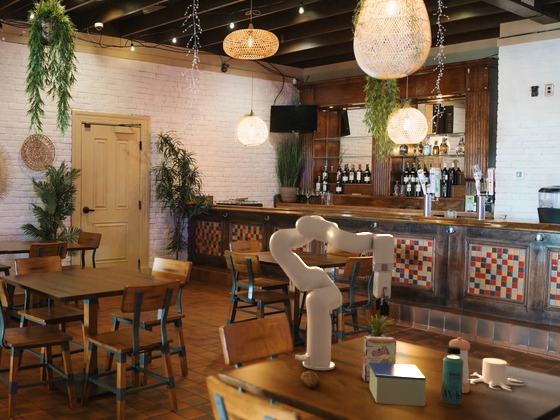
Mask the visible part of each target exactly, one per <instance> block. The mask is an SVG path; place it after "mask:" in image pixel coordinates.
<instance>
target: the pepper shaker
mask: <svg viewBox="0 0 560 420" xmlns="http://www.w3.org/2000/svg"><path fill="white" fill-rule="evenodd" d="M448 345H449V346H456V347H459V348H460V352H461V354H459V355H454V354H450V355H451V356H458V357H460V358H461V359H462V360H463V382H462V384H463V385H462V391H463V393H462V394H467V393H469V392H470V386H471V385H470V384H471V383H470V380H468V379H470V378H469V377H470V369H469V363H468V362H469V361H468V359H469V356H468V355H469V350H470V349H471V343H470V342H469V341H467V340H466V339H463V338H462V337H461V336H459V337H457V338H454V339H453V338H452V339H451V340H450V341H449V342H448Z"/></svg>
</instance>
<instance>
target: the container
mask: <svg viewBox="0 0 560 420" xmlns="http://www.w3.org/2000/svg"><path fill="white" fill-rule="evenodd" d="M426 380H427V379H426ZM426 380H412V379H396V378H379V377H375V375H374V373H373V371H372V369H371V368H370V382H369V391H370V392H371V395H372V397H373V399H374V401H375V403H376V404H384V405H400V406H401V405H402V406H415V407H425V406H426V405H425V404H426V383H427V381H426Z"/></svg>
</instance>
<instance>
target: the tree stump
mask: <svg viewBox="0 0 560 420" xmlns="http://www.w3.org/2000/svg"><path fill="white" fill-rule="evenodd" d="M508 365H511V364H510V363H508V362H507V361H506V360H503V359H500V358H494V357H484V358H482V373H481V374H482V375H481V374H479V372H477V371H475V372H473V374H469V377H471V376H472V377H475V376H476V377H478V378H469V379H468V381H469V382H470V384H472V385H476V383H484V384H487V385H488V387H489V388H490V389H493V390H499V391H500V390H502V389H503V390H507V391H509V392H513V389H511V386H525V384H523V381H521V380H518V379H515V378H512V377H508V378H507V374H508V372H507V371H508ZM497 386H498V387H501V388H502V389H501V388H498V387H497ZM496 387H497V388H496Z"/></svg>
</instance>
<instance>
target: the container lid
mask: <svg viewBox="0 0 560 420" xmlns="http://www.w3.org/2000/svg"><path fill="white" fill-rule="evenodd" d="M369 366H370V368H371V369H372V371H373V373H374V375H375V377H379V378H396V379H412V380H427V379H426V376H425V375H424V374H423V373H422V372H421V370H420V369H419V368H418V367H417V365H416V364H405V363H404V364H403V363H395V364H389V363H371V362H369Z"/></svg>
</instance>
